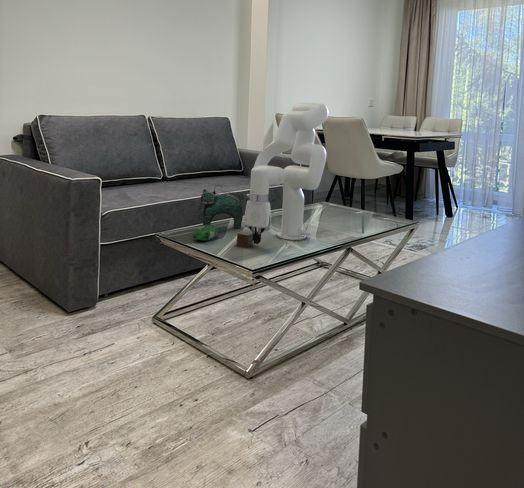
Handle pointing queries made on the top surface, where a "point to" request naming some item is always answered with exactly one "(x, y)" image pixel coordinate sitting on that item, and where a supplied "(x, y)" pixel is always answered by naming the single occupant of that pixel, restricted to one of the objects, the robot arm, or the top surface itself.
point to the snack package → (205, 232)
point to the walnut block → (245, 239)
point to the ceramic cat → (221, 206)
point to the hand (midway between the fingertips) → (256, 243)
